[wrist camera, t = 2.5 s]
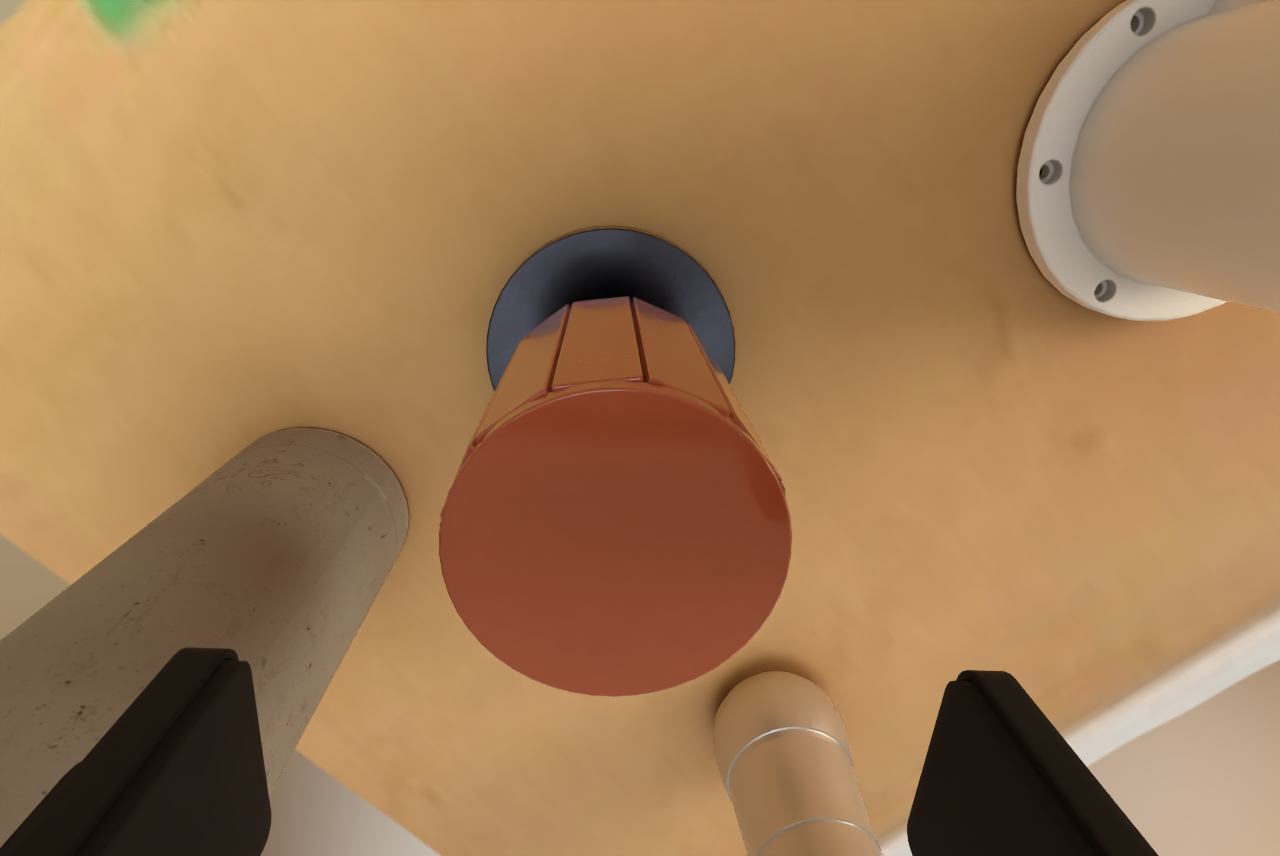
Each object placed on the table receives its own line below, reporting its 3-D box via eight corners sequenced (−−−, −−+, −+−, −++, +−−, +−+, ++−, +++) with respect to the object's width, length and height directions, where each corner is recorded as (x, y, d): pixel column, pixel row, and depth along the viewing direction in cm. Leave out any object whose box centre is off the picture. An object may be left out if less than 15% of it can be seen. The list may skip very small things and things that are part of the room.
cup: (552, 259, 21) (514, 326, 12) (761, 353, 22) (857, 472, 13) (470, 461, 23) (391, 635, 14) (665, 535, 24) (697, 736, 16)
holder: (544, 181, 27) (467, 205, 12) (772, 289, 29) (953, 425, 14) (457, 408, 30) (307, 652, 15) (668, 491, 32) (723, 783, 17)
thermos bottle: (300, 612, 33) (-859, 2304, 7) (186, 477, 30) (-2384, 2390, 4) (444, 541, 32) (-277, 2204, 6) (339, 394, 29) (-1796, 2229, 3)
